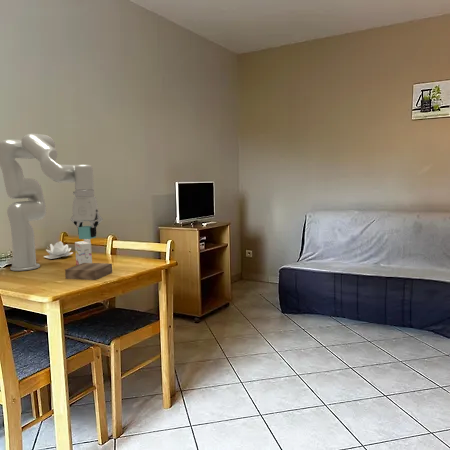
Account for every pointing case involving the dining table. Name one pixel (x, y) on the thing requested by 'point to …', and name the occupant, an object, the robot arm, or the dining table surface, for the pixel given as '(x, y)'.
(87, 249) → the ink cartridge box
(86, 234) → the teal cube
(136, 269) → the dining table surface
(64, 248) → the lotus flower
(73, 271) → the walnut base block
